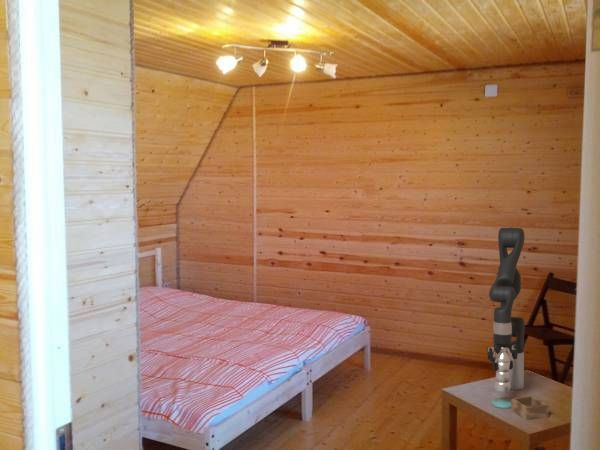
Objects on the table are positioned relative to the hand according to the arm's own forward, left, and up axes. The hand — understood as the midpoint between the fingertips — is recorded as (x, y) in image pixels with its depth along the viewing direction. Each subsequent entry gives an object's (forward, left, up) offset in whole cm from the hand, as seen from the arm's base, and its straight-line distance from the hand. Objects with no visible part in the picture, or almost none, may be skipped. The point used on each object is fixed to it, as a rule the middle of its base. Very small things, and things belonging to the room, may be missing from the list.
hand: (502, 369), depth 260 cm
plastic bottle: (0, 0, -10) cm, 10 cm away
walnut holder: (+12, +5, -16) cm, 20 cm away
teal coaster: (0, 0, -16) cm, 16 cm away
